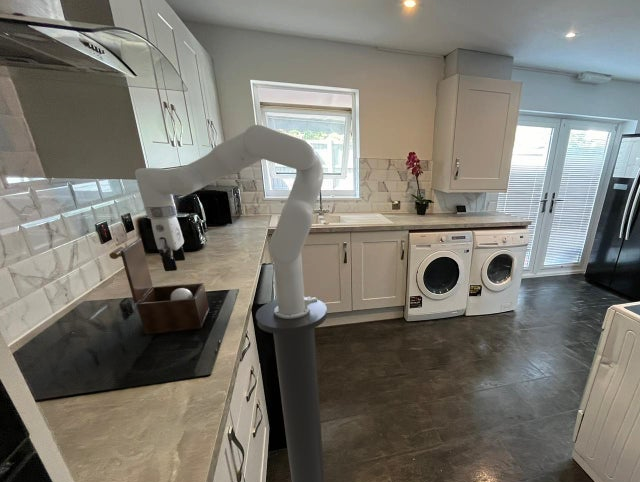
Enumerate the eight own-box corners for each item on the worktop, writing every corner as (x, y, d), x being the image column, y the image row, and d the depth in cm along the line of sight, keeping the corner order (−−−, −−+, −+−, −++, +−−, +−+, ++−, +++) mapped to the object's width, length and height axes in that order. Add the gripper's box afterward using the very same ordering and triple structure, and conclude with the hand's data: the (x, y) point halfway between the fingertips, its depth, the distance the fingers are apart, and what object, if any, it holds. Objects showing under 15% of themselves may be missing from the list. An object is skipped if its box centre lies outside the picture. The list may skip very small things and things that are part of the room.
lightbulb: (178, 316, 112) (172, 286, 109) (198, 314, 114) (193, 285, 111) (172, 323, 106) (165, 292, 103) (193, 321, 108) (187, 290, 105)
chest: (209, 310, 119) (203, 283, 114) (201, 328, 107) (194, 299, 103) (159, 314, 114) (151, 286, 110) (145, 334, 102) (136, 304, 98)
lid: (141, 238, 103) (121, 239, 102) (123, 251, 91) (100, 251, 90) (152, 285, 109) (134, 286, 108) (137, 302, 98) (116, 304, 96)
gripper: (167, 217, 90) (182, 273, 97) (183, 206, 105) (195, 256, 112) (135, 218, 88) (152, 276, 95) (156, 207, 103) (170, 258, 110)
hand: (175, 265), depth 103 cm, fingers open, 9 cm apart
